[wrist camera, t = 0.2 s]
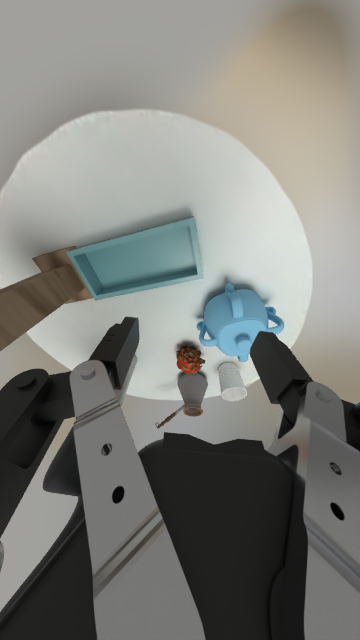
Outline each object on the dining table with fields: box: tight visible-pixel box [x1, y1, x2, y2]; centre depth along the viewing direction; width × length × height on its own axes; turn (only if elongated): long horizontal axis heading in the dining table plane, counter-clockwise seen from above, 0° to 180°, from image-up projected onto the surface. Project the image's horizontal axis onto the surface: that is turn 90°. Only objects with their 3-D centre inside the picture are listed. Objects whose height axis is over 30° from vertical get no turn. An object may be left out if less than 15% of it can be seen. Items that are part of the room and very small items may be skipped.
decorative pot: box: [197, 283, 284, 362], centre depth 38 cm, size 16×16×14 cm
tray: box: [66, 217, 203, 300], centre depth 34 cm, size 26×11×5 cm, turn 103°
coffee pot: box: [155, 373, 208, 428], centre depth 57 cm, size 21×12×15 cm, turn 125°
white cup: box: [218, 363, 247, 401], centre depth 53 cm, size 8×8×10 cm
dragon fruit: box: [177, 345, 205, 374], centre depth 50 cm, size 8×8×12 cm
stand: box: [0, 246, 93, 351], centre depth 26 cm, size 10×12×32 cm
